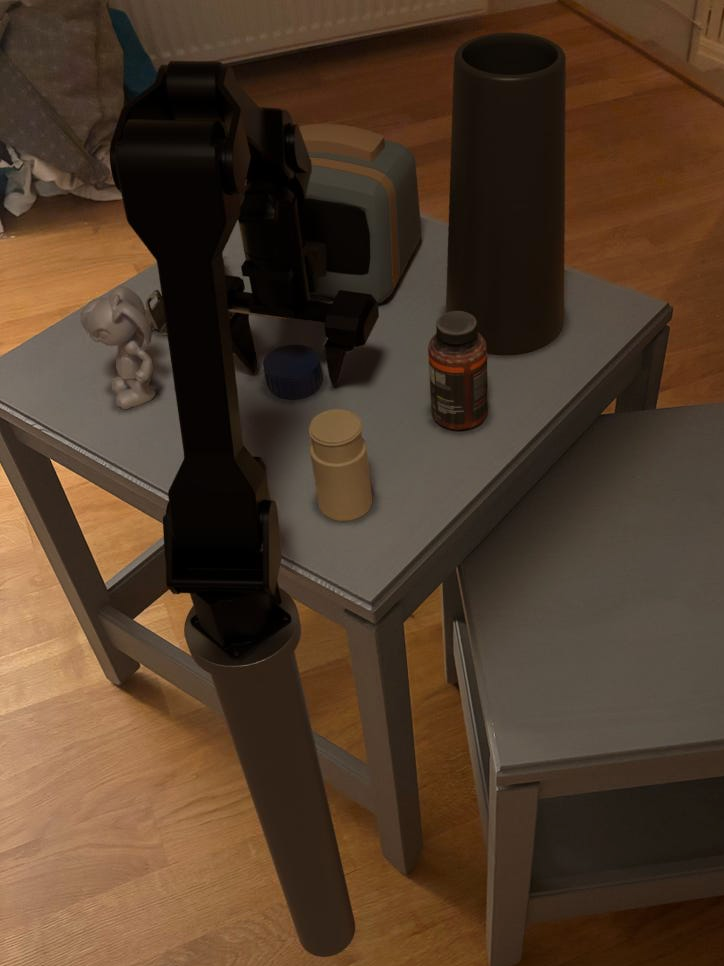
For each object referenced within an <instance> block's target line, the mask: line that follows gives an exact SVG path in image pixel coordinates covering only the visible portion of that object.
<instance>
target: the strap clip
mask: <svg viewBox="0 0 724 966" xmlns="http://www.w3.org/2000/svg"><path fill="white" fill-rule="evenodd" d="M155 298H156V299H157V301H156V302H155V303H154V304H153V306H152V307H151V302H152V301H153V300H154V299H155ZM145 308H146V309H145V317H146V318H147V320H148V321H149V323H150V326H151V332H153V331H155V330H158V331H159V332H160V333H161V334H162V336H167V329H166V322H165V315H164V308H163V301H162V293H161V291H160V290H159V289H155V290H154V291H152V293H151V294H150V295H149V297H148V298H147V299H146V301H145ZM137 328H138V329H139V330H140V331H142V330H141V328H140V327H139V326H138V325H137Z"/></svg>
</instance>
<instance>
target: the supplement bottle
mask: <svg viewBox="0 0 724 966" xmlns="http://www.w3.org/2000/svg"><path fill="white" fill-rule="evenodd" d="M435 323H436V324H435V326H436V328H435V329H436V330H435V331H436V332H435V334H434V335H433V336H432V337H431V339H430V340H429V342H428V346H427V353H428V354H427V355H428V372H429V373H428V374H429V389H430V393H429V394H430V407H431V416H432V417H433V419H434V421H435V422H436V423H437V424H438V425H440V426H441V427H443V428H446V429H449V430H453V431H454V430H456V431H464V430H469V429H472V428H475V427H477V426H479V425H480V424H481V423H482V422H483V421H484V420H485V419H486V417H487V414H488V406H489V405H488V402H489V400H488V397H489V396H488V395H489V394H488V353H487V345H486V342H485V340H484V338H483V336H482V335H481V334H479V333H478V330H477V321H476V319H475V318H474V316H473V315H471V314H469V313H467V312H463V311H451V312H448V313H446V312H445V313H443V314H441V315H440V316H439V317H438V318H437V319H436V322H435Z"/></svg>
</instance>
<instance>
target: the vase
mask: <svg viewBox="0 0 724 966" xmlns="http://www.w3.org/2000/svg"><path fill="white" fill-rule="evenodd" d="M566 59H567V57H566V53H565V51H564V50H563V49H562V47H560V46H559V45H558V44H557V43H555V42H554V41H552V40H551V39H548V38H545V37H542V36H540V35H535V34H531V33H524V32H511V31H510V32H495V33H487V34H482V35H479V36H476V37H473V38H470V39H468V40H466V41H465V42H464V43H462V44H461V45H460V46H459V47H457V49H456V51H455V53H454V57H453V71H452V78H453V79H452V100H451V101H452V104H451V105H452V108H451V136H450V161H449V162H450V165H449V166H450V169H449V195H448V198H449V199H448V200H449V201H448V225H447V226H448V228H447V231H448V232H447V256H446V257H447V261H446V264H447V266H446V288H445V289H446V290H445V291H446V294H445V295H446V296H445V303H446V304H445V313H448V312H451V311H463V312H467V313H469V314H471V315H473V316H474V318H475V319H476V321H477V330H478V333H479V334H481V335H482V336H483V338H484V340H485V342H486V345H487V354H491V355H498V356H499V355H501V356H511V355H521V354H526V353H530V352H534V351H537V350H539V349H541V348H543V347H545V346H547V345H549V344H550V343H551V342H553V341H555V339H556V338H557V337H558V336H559V335H560V333H561V331H563V330H562V329H563V327H564V322H565V321H564V320H565V270H566V269H565V264H566V263H565V262H566V261H565V260H566V259H565V252H566V249H565V248H566V247H565V243H566V237H565V235H566V234H565V233H566V226H565V225H566V204H565V203H566V126H567V125H566V117H567V116H566V115H567V114H566V113H567V111H566V104H567V102H566V101H567V100H566V96H567V95H566V94H567V93H566V91H567V84H566V82H567V81H566V80H567V69H566V65H567V64H566V63H567V62H566V61H567V60H566Z"/></svg>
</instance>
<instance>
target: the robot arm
mask: <svg viewBox="0 0 724 966" xmlns="http://www.w3.org/2000/svg"><path fill="white" fill-rule="evenodd" d="M235 75H236V74H235V72H234V69H233V68H232V65H225V64H224V63H223V62H222V61H218V60H216V61H214V60H208V61H207V60H204V61H203V60H170V61H169V62H168V64H160V66H159V68H158V70H157V74H156V77H155V80H154V83H152V84H151V85H150V86H148V87H147V88H146V89H144V90H143V91H142V92H141V93H139V94H138V95H137V96H135V97H134V98H133V99H131V100H130V101H129V102H128V103H126V104H125V105H124V106H123V107H122V109H121V111H120V113H119V117H118V119H117V123H116V125H115V129H114V132H113V134H112V138H111V141H110V146H109V165H110V166H109V167H110V173H111V177H112V180H113V183H114V185H115V188H116V190H117V191H118V192H120V195H121V198H122V205H123V208H124V209H123V210H124V213H125V218H126V221H127V223H128V225H129V226H130V228H131V229H132V230H133V232H134V233H135V234H136V236H137V237H138V238H139V239H140V241H141V242H142V243H143V245H144V246H145V248H146V249H147V250H148V251H149V253H150V254H151V255H152V257H153V258H154V259H155V260H156V261H155V262H156V265H157V273H158V279H159V286H160V294H161V296H162V301H163V308H164V315H165V322H166V329H167V335H166V336H167V342H168V349H169V350H168V351H169V357H170V364H171V372H172V377H173V385H174V386H173V387H174V394H175V400H176V401H175V402H176V407H177V414H178V422H179V428H180V435H181V437H180V438H181V444H182V450H183V460H182V462H181V464H180V465H179V468H178V471H177V472H176V474H175V477H174V479H173V481H172V483H171V485H170V487H169V489H168V491H167V497H168V501H167V504H166V509H165V514H164V515H163V516H162V530H163V531H162V534H163V549H164V561H165V583H166V587H167V588H168V590H169V591H170V593H172V595H180V594H189V596H190V599H191V602H192V606H193V605H194V608H195V611H196V615H195V616H193V617H192V618H191V620H190V622H191V625H192V626H193V627H194V628H195V629H196V630H197V631H199V632H200V633H201V634H202V635H203V636H204V637H206V638H207V639H208V640H209V641H210V642H211V643H213V644H214V645H215V646H216V647H217V648H218V649H220V650H221V651H222V652H223V653H224V654H226V655H227V656H228V657H229V658H230V659H231V660H233V661H239V660H241V659H242V658H243V657H245V656H246V655H247V654H249V653H250V652H252V651H253V650H254V649H256V648H257V647H258V646H260V645H261V644H262V643H264V642H265V641H267V640H268V639H269V638H271V637H272V636H273V635H275V634H276V633H277V632H279V631H280V630H282V629H283V628H284V627H286V626H287V625H288V624H290V623H291V621H292V619H291V616H290V614H288V613H287V612H286V611H285V610H283V609H282V608H281V607H280V606H279V605H280V604H281V603H282V599H281V594H280V590H279V587H280V586H279V582H278V581H279V580H278V578H279V574H280V568H281V563H282V557H283V552H282V543H281V534H280V533H281V531H280V523H279V511H278V506H277V503H276V501H275V500H274V499H271V495H270V489H269V483H268V472H267V471H268V469H267V468H268V467H267V465H266V462H264V459H262V456H253V455H252V453H251V452H250V451H249V450H248V448H247V447H246V446H245V444H244V439H243V431H242V421H241V413H240V402H239V396H238V386H237V375H236V367H235V357H234V355H235V356H236V358H237V359H238V360H239V361H240V362H241V363H242V364H243V365H244V367H245V368H246V369H247V370H248V372H250V373H251V374H253V375H256V373H257V372H258V370H259V363H258V354H257V350H256V347H255V342H254V338H253V333H252V330H251V324H250V315H251V316H256V317H257V316H258V317H266V318H272V319H279V320H288V319H290V320H291V319H292V320H300V321H301V320H302V321H308V322H315V323H322V324H324V326H323V329H324V335H325V336H324V337H325V338H327V339H326V341H325V343H324V345H323V347H324V353H325V358H326V359H325V360H326V366H327V371H328V377H329V380H330V384H331V385H332V386H337V384H338V383H339V380H340V376H341V372H342V369H343V365H344V360H345V357H346V353H349V352H352V351H354V349H355V348H361V347H363V346H365V345H366V343H367V342H368V339H369V338H370V335H371V334H372V331H373V329H374V327H375V326H376V323H377V321H378V319H379V318H380V311H379V303H378V302H377V301H376V299H375V298H374V297H373V296H372V295H371V294H365V293H358V292H350V291H343V290H339V292H338V293H337V295H336V297H335V298H333V301H332V302H331V301H324V300H317V299H311V294H310V293H311V292H313V293H316V291H317V289H318V288H319V281H318V278H320V277H321V276H324V277H325V276H326V244H324V243H319V242H311V241H303V240H302V235H301V228H300V221H299V214H298V212H300V211H301V209H302V207H303V204H304V200H305V196H306V192H307V188H308V184H309V180H310V176H311V173H312V164H311V160H310V157H309V154H308V151H307V148H306V146H305V143H304V140H303V137H302V134H301V132H300V129H299V126H300V125H299V124H298V123H297V124H296V123H294V122H293V121H294V120H293V118H292V116H291V114H290V112H289V111H288V110H287V109H284V108H277V107H264V106H263V107H262V106H259V105H258V104H257V103H256V102H255V101H254V99H252V98H251V97H250V95H249V94H248V93H247V92H246V91H245V90H244V89H243V88H242V87H241V86H240V85H239V84H238V83H237V80H236V76H235ZM237 223H238V226H239V233H240V236H241V240H242V241H241V243H242V247H243V248H242V249H243V253H244V258H245V260H244V261H243V262H242V264H241V265H240V269H241V274H242V277H248V280H249V285H250V289H251V292H249V291H248V292H247V291H245V290H246V287H245V280H244V279H243V278H242V277H240V276H236V275H230V274H226V275H224V266H225V265H224V266H223V262H224V257H223V253H224V251H225V249H226V246H227V244H228V242H229V240H230V238H231V235H232V233H233V231H234V229H235V227H236V225H237ZM285 618H287V619H286V620H284V619H285ZM195 621H198V622H195ZM236 654H238V655H237V656H234V655H236Z"/></svg>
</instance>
